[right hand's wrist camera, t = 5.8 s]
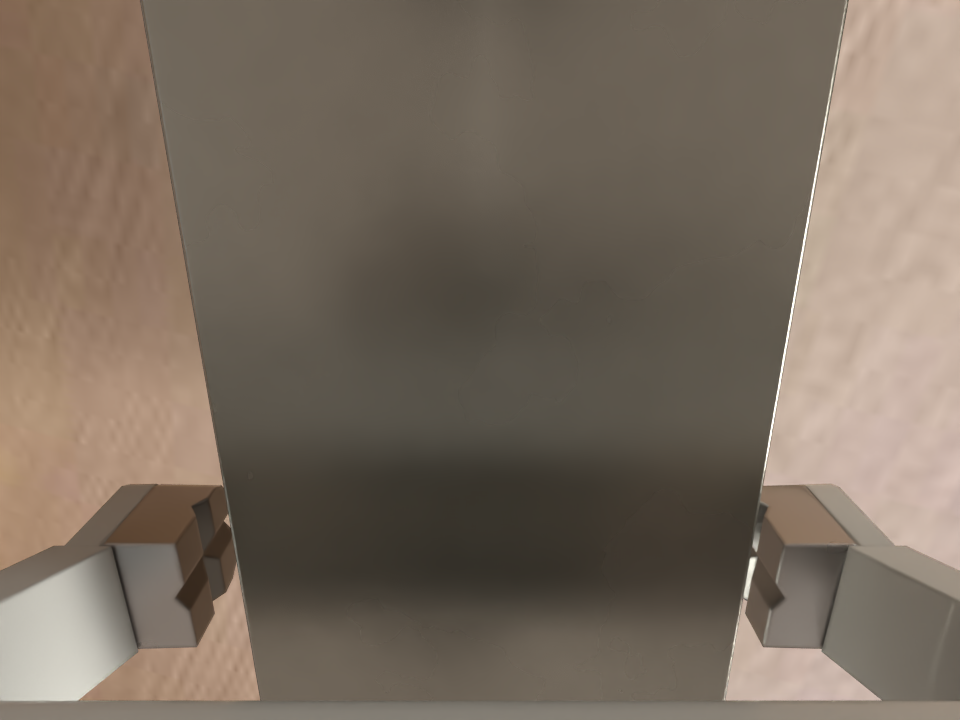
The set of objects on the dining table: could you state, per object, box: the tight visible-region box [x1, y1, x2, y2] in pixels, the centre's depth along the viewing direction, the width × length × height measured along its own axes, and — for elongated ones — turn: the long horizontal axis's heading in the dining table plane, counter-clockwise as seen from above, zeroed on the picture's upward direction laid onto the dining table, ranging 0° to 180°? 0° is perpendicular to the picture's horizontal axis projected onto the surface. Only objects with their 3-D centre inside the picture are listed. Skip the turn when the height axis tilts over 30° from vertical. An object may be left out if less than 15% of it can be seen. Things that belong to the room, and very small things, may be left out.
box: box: [140, 0, 849, 701], centre depth 11 cm, size 24×6×12 cm, turn 0°
